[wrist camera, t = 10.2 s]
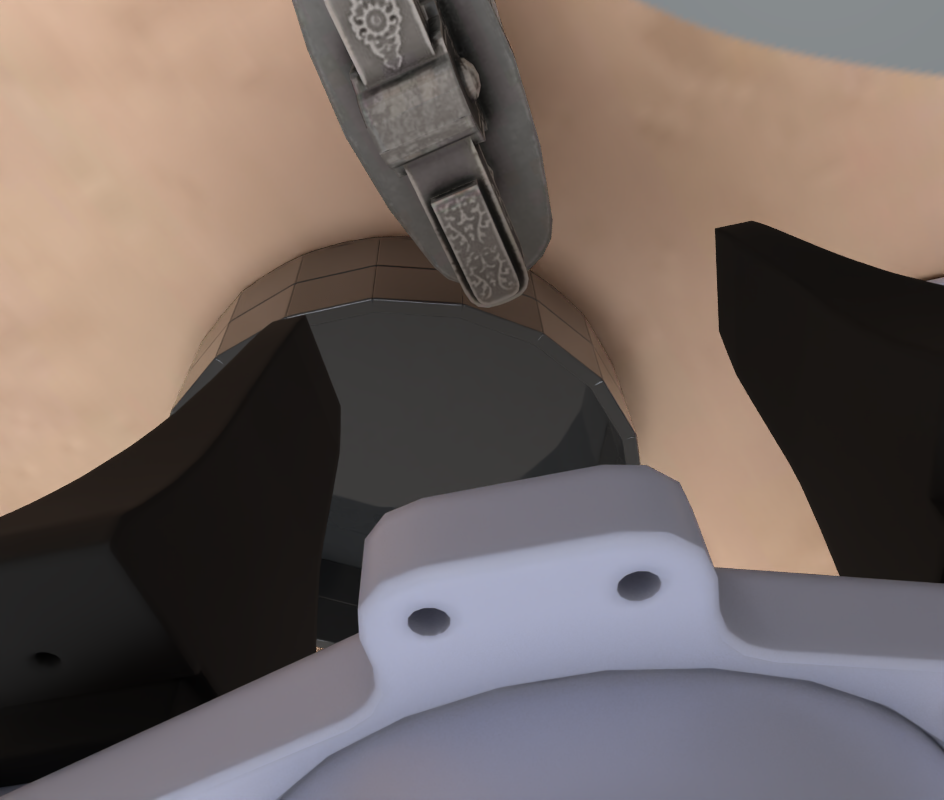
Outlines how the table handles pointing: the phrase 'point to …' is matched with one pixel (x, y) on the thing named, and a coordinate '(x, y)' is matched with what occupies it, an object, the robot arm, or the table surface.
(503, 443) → the pan
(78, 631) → the robot arm
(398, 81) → the lighter
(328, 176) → the table surface
